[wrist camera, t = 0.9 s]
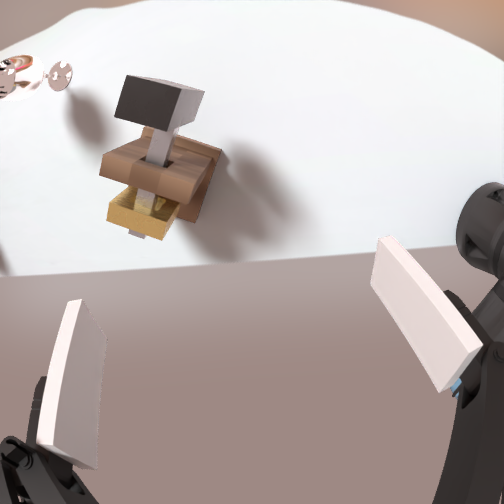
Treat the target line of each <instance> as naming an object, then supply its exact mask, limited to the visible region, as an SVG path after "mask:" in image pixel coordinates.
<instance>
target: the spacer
mask: <svg viewBox="0 0 504 504" xmlns="http://www.w3.org/2000/svg"><path fill="white" fill-rule="evenodd" d="M137 191H138V188H136V187H133V186H129V187H127V188H126V189H125V190H124V191H123V192H121V193H120V194H119V195H118V196H116V197H115V198H114V199H113V200H112V201H111V202H109V208H108V214H107V220H106V221H108V222H111V223H114V224H117V225H120V226H122V227H125V228H128V229H131V230H133V231H136V232H139V233H142V234H145V235H148V236H150V237H153V238H156V239H159V240H163V238H164V236H165V235H166V233H167V231H168V230H169V228H170V226H171V225H172V223H173V221H174V220H175V218H176V216H177V214H178V211H179V208H180V205H181V203H180V202H177V201H174V200H172V199H169V198H166V197H163V196H160V195H159V196H158V200H157V203H156V207H155V210H153V209H150V208H148V207H145V206H142V205H139V204H136V203H135V200H136V196H137Z"/></svg>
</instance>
